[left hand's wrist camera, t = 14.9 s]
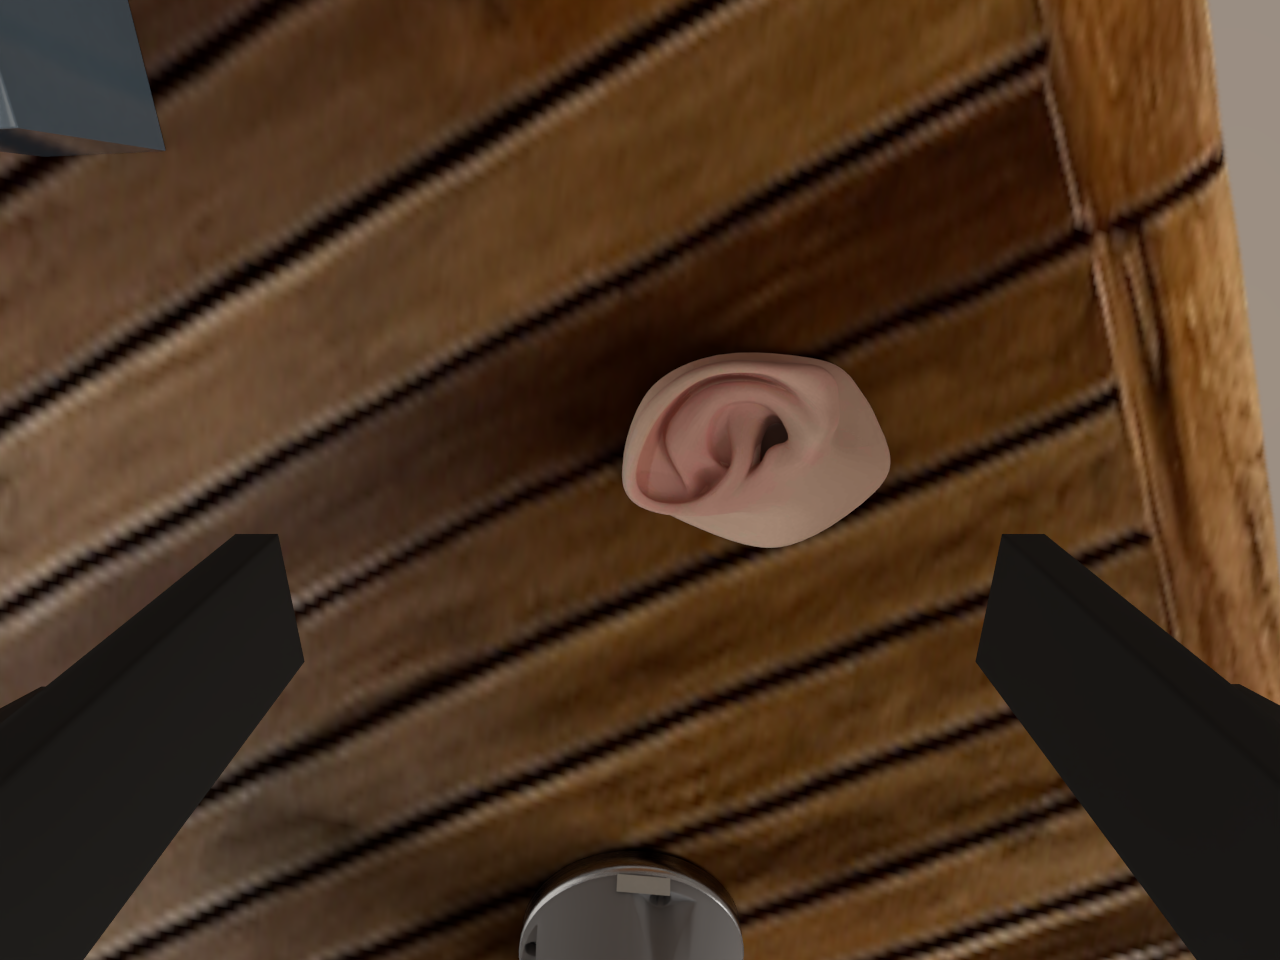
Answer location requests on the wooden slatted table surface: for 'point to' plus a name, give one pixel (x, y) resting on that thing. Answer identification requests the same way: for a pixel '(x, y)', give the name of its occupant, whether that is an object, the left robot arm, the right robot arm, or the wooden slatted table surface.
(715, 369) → the anatomical model
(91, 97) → the dark grey boxy piece
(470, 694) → the wooden slatted table surface
